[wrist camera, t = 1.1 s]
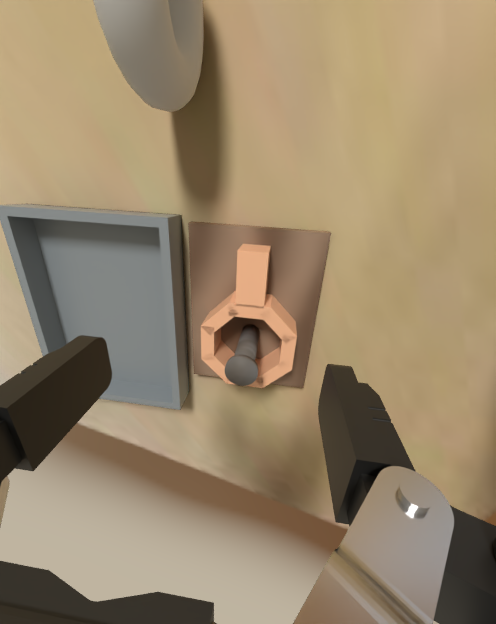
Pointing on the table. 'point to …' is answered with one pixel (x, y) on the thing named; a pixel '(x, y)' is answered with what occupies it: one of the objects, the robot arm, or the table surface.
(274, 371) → the ring
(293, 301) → the panel
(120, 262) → the tray
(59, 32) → the table surface
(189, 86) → the donut
